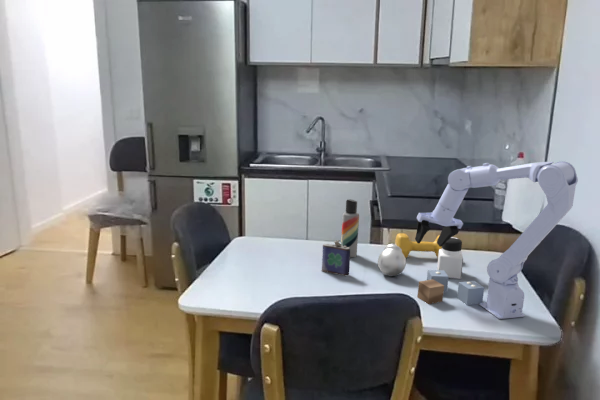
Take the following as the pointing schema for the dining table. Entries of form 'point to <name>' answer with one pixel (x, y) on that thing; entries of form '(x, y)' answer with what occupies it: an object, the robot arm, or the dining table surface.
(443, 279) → the dotted block
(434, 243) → the dumbbell
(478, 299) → the dotted block
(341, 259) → the flask
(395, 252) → the silver round ornament
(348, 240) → the lotion bottle
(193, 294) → the dining table surface
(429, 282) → the walnut block
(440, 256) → the medicine bottle
